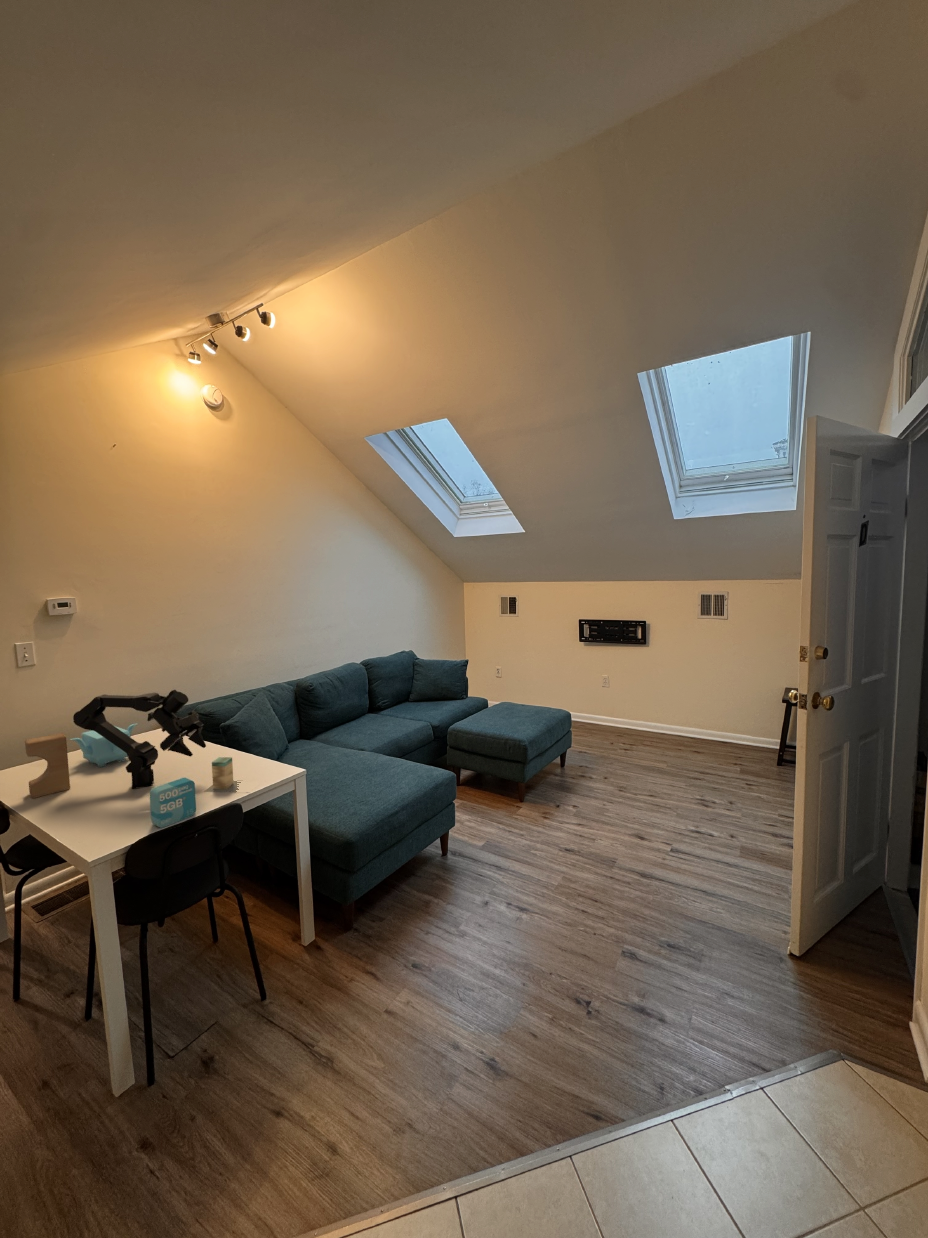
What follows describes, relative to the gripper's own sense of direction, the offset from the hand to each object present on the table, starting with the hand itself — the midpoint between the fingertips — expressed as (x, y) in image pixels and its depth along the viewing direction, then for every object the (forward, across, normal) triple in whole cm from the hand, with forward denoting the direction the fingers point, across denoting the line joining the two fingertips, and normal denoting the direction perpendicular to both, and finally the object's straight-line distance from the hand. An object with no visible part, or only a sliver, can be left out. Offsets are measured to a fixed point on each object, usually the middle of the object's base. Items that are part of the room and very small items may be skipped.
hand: (198, 751), depth 188 cm
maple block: (+16, 0, +2) cm, 16 cm away
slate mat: (+19, 0, 0) cm, 19 cm away
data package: (+14, -25, +5) cm, 29 cm away
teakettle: (-27, +22, +48) cm, 59 cm away
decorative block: (-26, -8, +47) cm, 54 cm away
